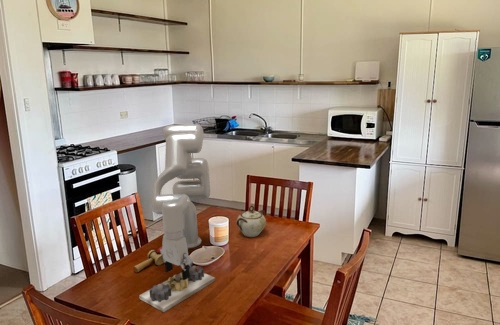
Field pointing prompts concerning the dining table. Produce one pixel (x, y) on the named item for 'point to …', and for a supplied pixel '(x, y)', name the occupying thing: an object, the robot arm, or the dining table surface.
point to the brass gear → (177, 283)
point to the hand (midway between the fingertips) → (177, 274)
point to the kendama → (150, 260)
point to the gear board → (168, 298)
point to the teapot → (251, 222)
